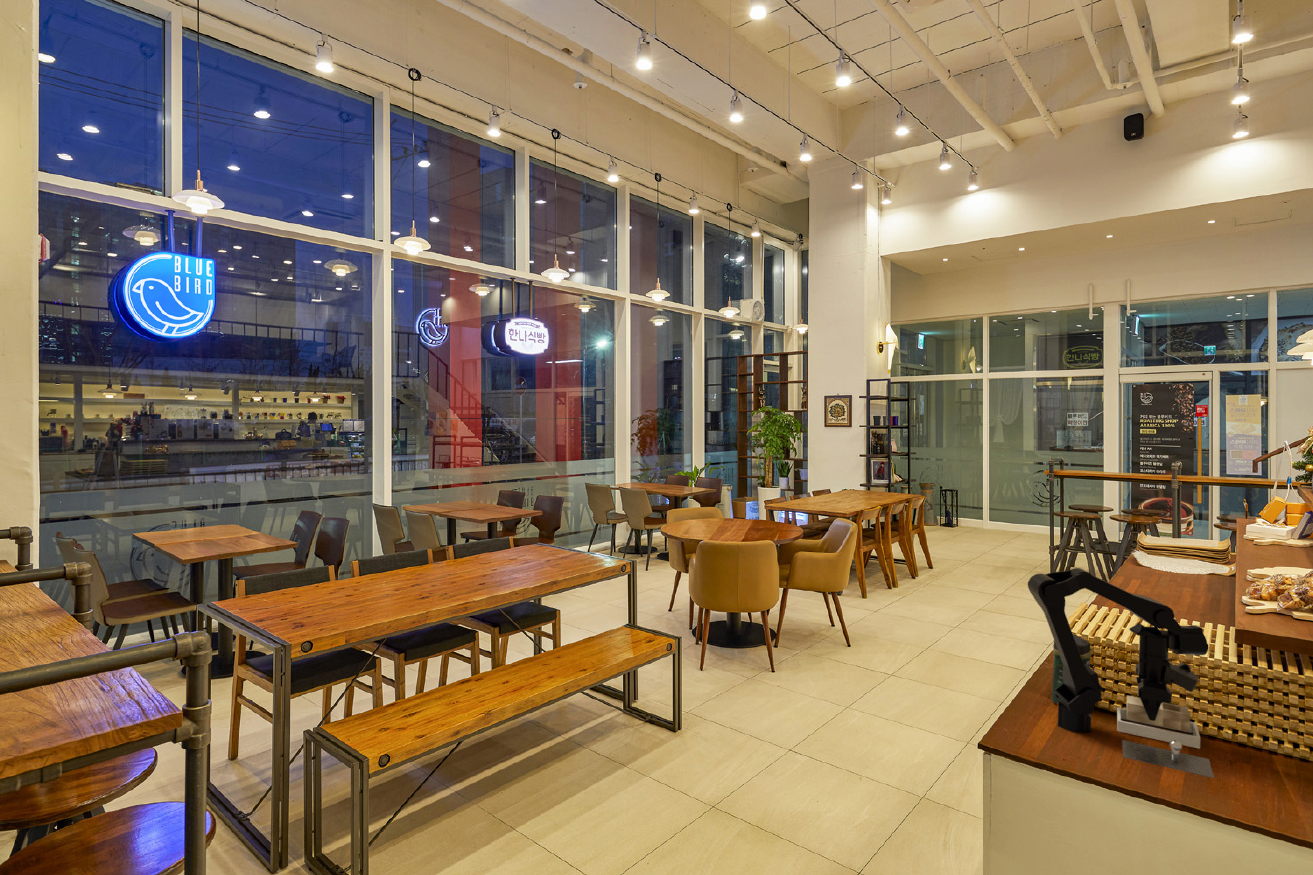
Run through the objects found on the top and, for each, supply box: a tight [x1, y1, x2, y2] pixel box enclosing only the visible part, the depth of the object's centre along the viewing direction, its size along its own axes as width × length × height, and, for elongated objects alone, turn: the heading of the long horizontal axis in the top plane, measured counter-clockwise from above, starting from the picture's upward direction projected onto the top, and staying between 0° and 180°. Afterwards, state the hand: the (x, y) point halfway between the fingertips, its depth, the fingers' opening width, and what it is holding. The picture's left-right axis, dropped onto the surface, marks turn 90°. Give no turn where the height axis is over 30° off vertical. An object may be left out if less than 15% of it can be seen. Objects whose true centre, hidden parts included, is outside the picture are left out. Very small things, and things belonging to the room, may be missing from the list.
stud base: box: [1121, 739, 1215, 779], centre depth 152 cm, size 16×9×5 cm, turn 57°
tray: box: [1116, 706, 1201, 750], centre depth 164 cm, size 16×9×4 cm, turn 57°
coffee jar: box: [1051, 635, 1092, 705], centre depth 182 cm, size 10×8×19 cm
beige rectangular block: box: [1126, 695, 1191, 733], centre depth 164 cm, size 12×5×4 cm, turn 57°
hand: (1151, 715), depth 165 cm, fingers closed on beige rectangular block, 5 cm apart
